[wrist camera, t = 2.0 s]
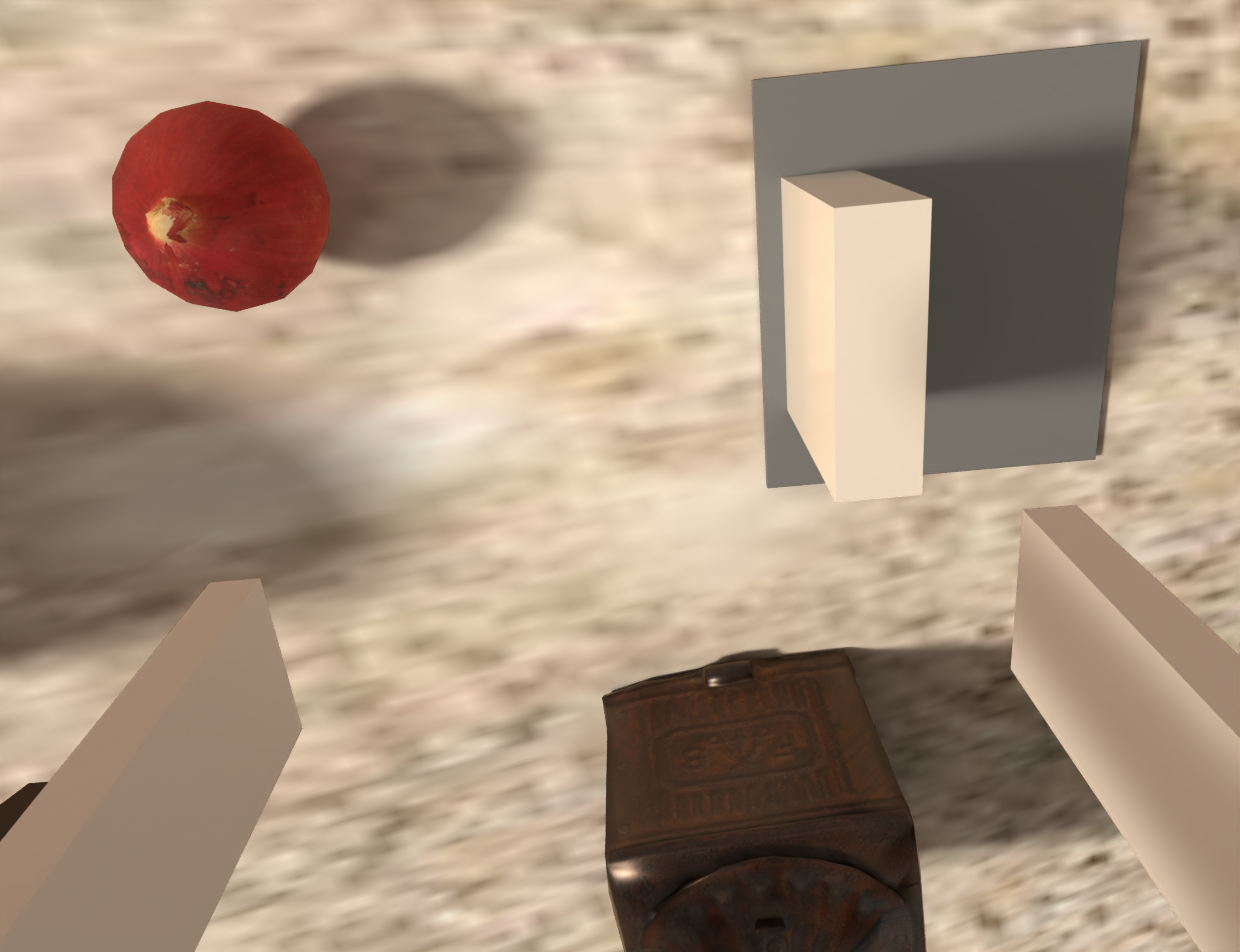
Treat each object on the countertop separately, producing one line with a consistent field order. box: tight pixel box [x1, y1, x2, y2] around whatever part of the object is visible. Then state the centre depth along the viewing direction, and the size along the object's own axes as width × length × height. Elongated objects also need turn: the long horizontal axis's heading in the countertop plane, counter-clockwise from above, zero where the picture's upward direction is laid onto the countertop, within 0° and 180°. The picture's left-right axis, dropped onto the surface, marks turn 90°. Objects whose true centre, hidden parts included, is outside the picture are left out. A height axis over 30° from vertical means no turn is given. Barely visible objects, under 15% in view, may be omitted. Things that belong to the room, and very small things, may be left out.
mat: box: [752, 40, 1142, 488], centre depth 32 cm, size 12×14×1 cm
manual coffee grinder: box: [602, 650, 927, 952], centre depth 32 cm, size 16×11×18 cm
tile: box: [781, 170, 932, 502], centre depth 28 cm, size 2×8×8 cm, turn 6°
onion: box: [112, 101, 330, 312], centre depth 27 cm, size 6×6×8 cm
